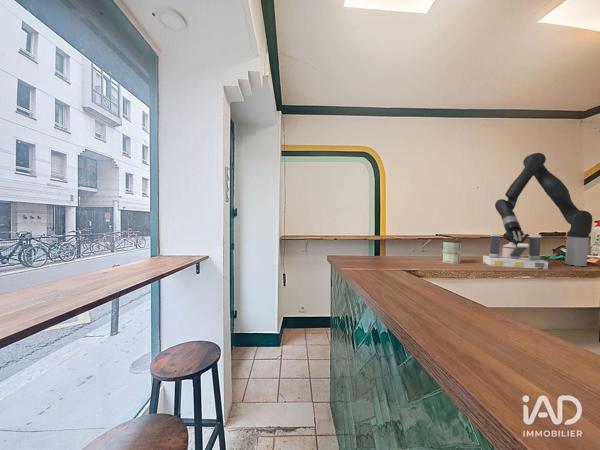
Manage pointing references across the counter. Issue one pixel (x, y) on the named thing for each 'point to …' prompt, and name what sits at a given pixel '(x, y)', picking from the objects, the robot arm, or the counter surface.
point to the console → (515, 262)
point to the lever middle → (518, 250)
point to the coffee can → (451, 251)
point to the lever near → (534, 247)
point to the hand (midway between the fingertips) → (519, 247)
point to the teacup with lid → (508, 249)
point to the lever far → (494, 245)
